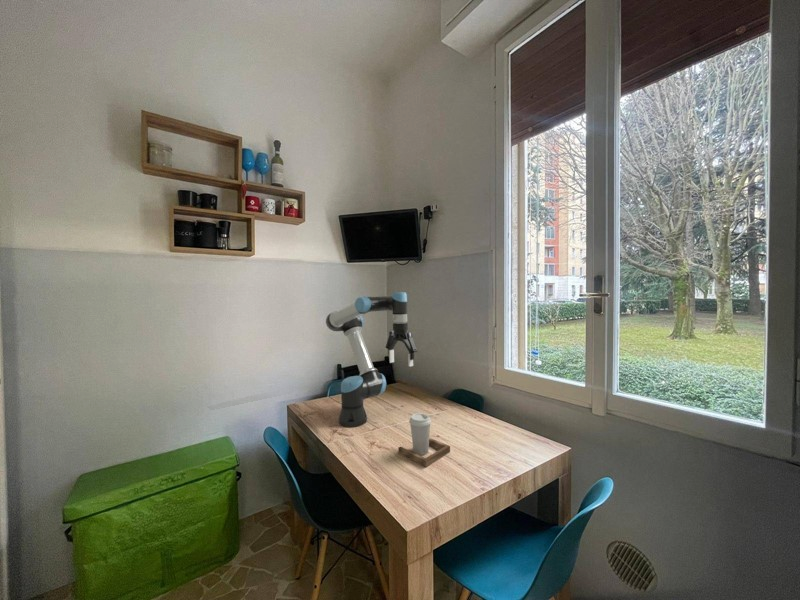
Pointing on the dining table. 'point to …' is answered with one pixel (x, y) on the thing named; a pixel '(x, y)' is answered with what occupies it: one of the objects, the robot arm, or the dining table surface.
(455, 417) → the dining table surface
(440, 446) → the bracket
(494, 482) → the dining table surface
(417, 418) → the coffee cup
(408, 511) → the dining table surface
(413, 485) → the dining table surface
